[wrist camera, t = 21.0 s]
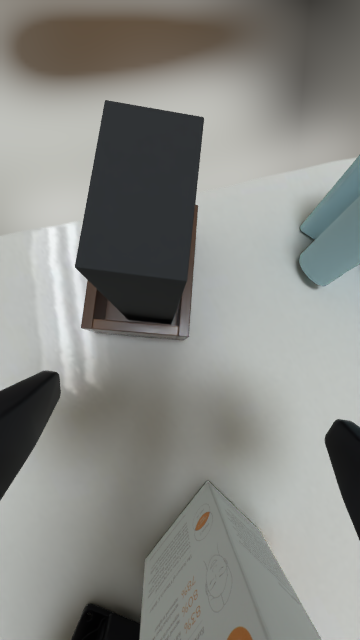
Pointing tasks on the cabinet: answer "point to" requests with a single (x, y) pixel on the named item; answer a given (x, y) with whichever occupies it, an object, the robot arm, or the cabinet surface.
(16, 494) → the cabinet surface
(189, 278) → the brown wooden tray
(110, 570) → the cabinet surface
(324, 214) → the squiggly pen holder
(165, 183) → the black rectangular box
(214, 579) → the small box
